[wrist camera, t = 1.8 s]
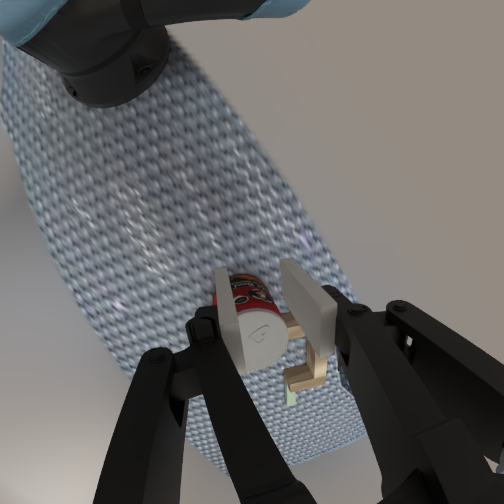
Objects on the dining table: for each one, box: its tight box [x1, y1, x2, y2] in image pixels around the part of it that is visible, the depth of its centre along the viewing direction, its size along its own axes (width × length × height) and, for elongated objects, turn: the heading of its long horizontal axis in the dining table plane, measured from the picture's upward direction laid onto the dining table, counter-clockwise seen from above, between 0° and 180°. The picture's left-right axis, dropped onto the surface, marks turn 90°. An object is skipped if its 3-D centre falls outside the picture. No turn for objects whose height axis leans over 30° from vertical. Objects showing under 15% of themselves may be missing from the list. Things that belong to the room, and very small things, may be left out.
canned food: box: [213, 275, 289, 371], centre depth 32 cm, size 8×8×11 cm
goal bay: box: [284, 379, 295, 406], centre depth 42 cm, size 6×14×2 cm, turn 96°
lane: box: [281, 312, 327, 393], centre depth 39 cm, size 13×19×4 cm
